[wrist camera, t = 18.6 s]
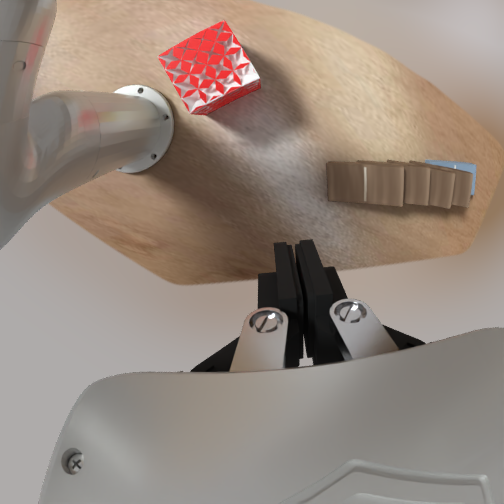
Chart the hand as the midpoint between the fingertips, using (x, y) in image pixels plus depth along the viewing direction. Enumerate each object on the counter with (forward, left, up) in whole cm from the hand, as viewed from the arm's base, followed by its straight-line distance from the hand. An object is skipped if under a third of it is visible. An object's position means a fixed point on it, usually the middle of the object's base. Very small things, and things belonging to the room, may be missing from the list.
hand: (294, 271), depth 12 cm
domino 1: (+7, -2, -25) cm, 26 cm away
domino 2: (+11, -2, -25) cm, 27 cm away
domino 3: (+15, -2, -25) cm, 29 cm away
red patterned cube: (-5, +14, -26) cm, 30 cm away
